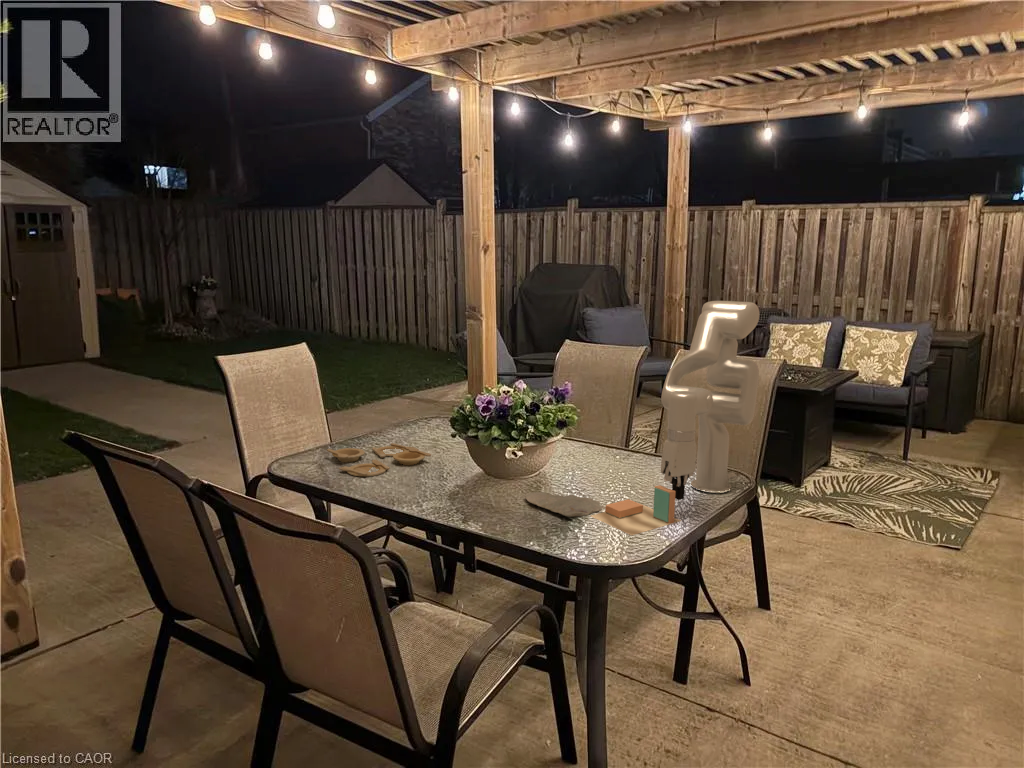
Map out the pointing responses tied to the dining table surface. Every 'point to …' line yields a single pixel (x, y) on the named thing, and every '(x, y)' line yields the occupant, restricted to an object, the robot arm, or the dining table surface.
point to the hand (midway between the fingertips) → (677, 498)
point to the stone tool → (565, 504)
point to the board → (634, 521)
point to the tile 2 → (664, 504)
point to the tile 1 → (623, 508)
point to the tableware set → (352, 454)
